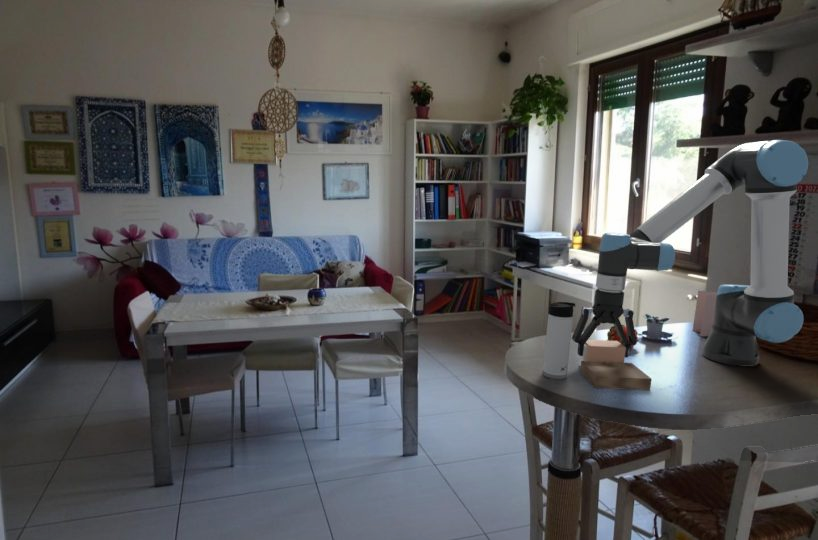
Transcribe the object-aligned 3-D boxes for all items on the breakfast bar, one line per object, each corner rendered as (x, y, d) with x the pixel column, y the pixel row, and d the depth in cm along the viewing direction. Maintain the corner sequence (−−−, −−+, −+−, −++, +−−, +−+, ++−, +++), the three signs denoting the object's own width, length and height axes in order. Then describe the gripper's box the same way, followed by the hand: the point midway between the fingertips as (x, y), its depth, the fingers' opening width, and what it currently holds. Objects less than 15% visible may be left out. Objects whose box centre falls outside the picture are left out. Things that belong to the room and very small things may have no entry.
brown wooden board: (630, 373, 153) (631, 362, 152) (650, 390, 141) (651, 378, 141) (580, 371, 153) (581, 360, 152) (595, 387, 141) (596, 376, 140)
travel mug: (569, 381, 145) (576, 306, 141) (543, 378, 146) (550, 303, 143) (567, 372, 151) (574, 300, 147) (542, 370, 152) (549, 298, 149)
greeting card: (728, 335, 198) (734, 294, 195) (730, 340, 191) (737, 298, 189) (692, 330, 202) (698, 290, 200) (693, 335, 196) (699, 293, 193)
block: (614, 364, 159) (617, 340, 158) (622, 371, 153) (625, 347, 152) (579, 363, 159) (582, 339, 158) (587, 370, 153) (589, 346, 152)
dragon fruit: (603, 354, 174) (630, 356, 179) (624, 345, 167) (651, 347, 173) (596, 329, 177) (623, 331, 183) (616, 319, 171) (643, 322, 176)
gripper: (573, 290, 148) (565, 370, 152) (656, 294, 149) (646, 373, 153) (564, 285, 156) (557, 361, 159) (644, 288, 156) (635, 364, 160)
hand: (601, 367), depth 156 cm, fingers closed on block, 10 cm apart
